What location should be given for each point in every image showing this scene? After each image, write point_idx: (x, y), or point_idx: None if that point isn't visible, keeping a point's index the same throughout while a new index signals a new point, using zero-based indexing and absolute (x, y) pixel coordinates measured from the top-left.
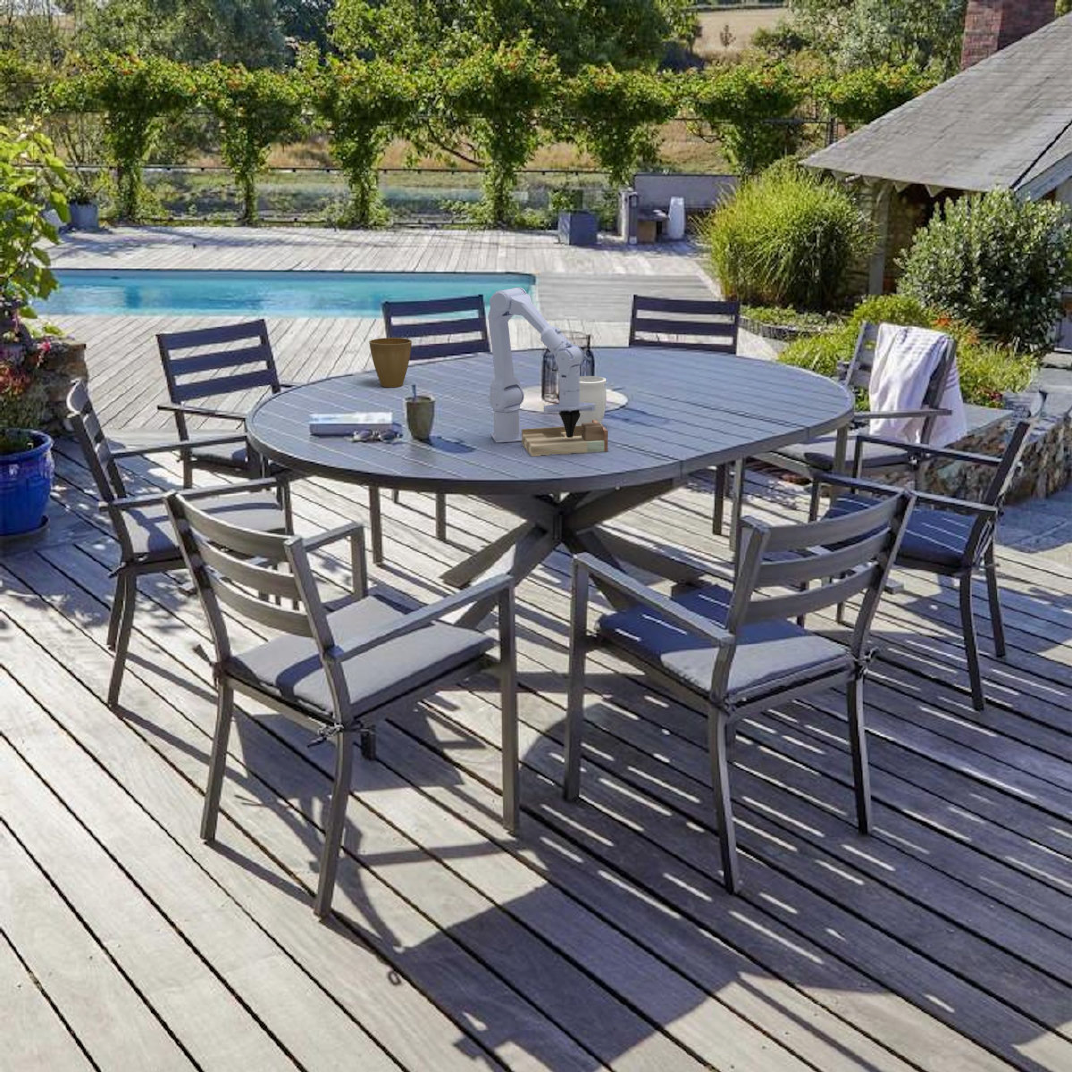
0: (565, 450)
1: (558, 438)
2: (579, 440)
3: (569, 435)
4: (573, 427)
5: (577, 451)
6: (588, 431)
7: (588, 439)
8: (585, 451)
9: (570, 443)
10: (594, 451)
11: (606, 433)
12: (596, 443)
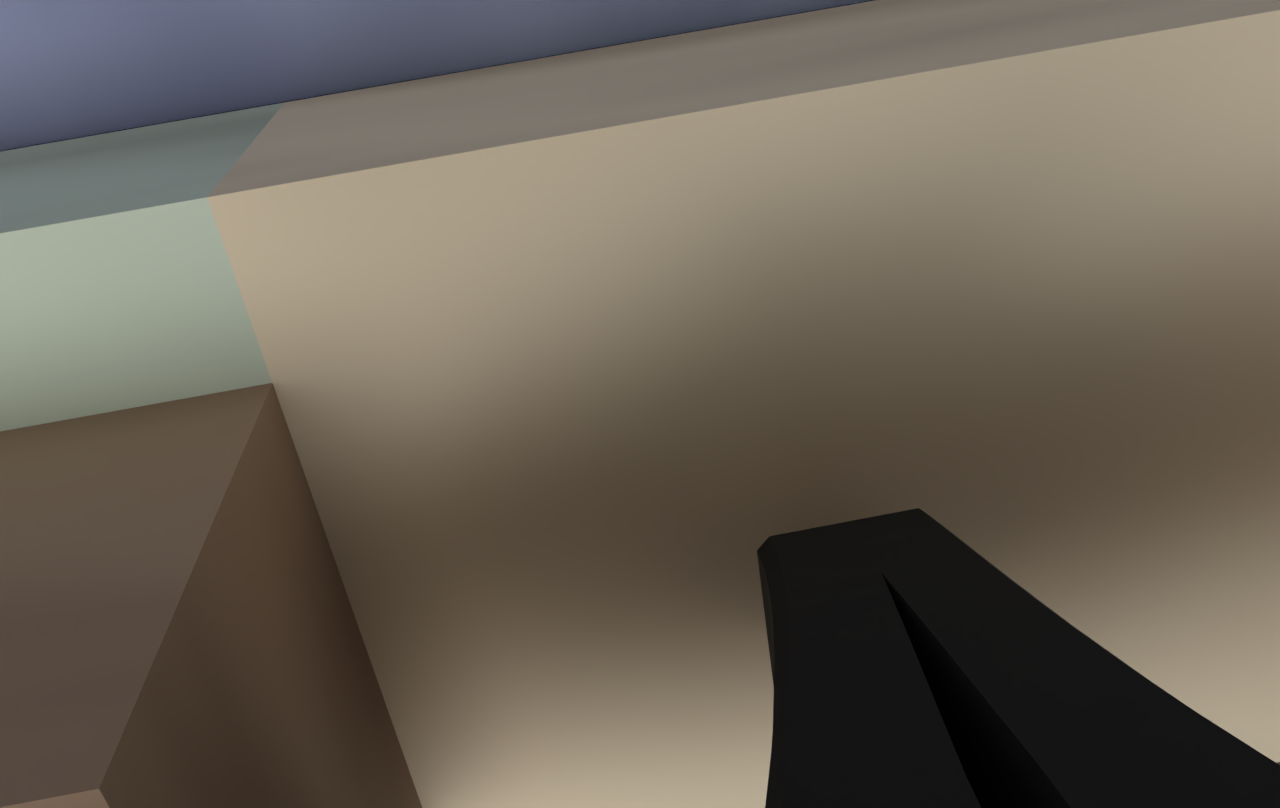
0: (974, 11)
1: None
2: (505, 480)
3: (906, 547)
4: (847, 797)
5: (581, 63)
6: (37, 637)
7: (159, 433)
8: (330, 103)
9: (878, 90)
10: (52, 151)
11: None
12: None
